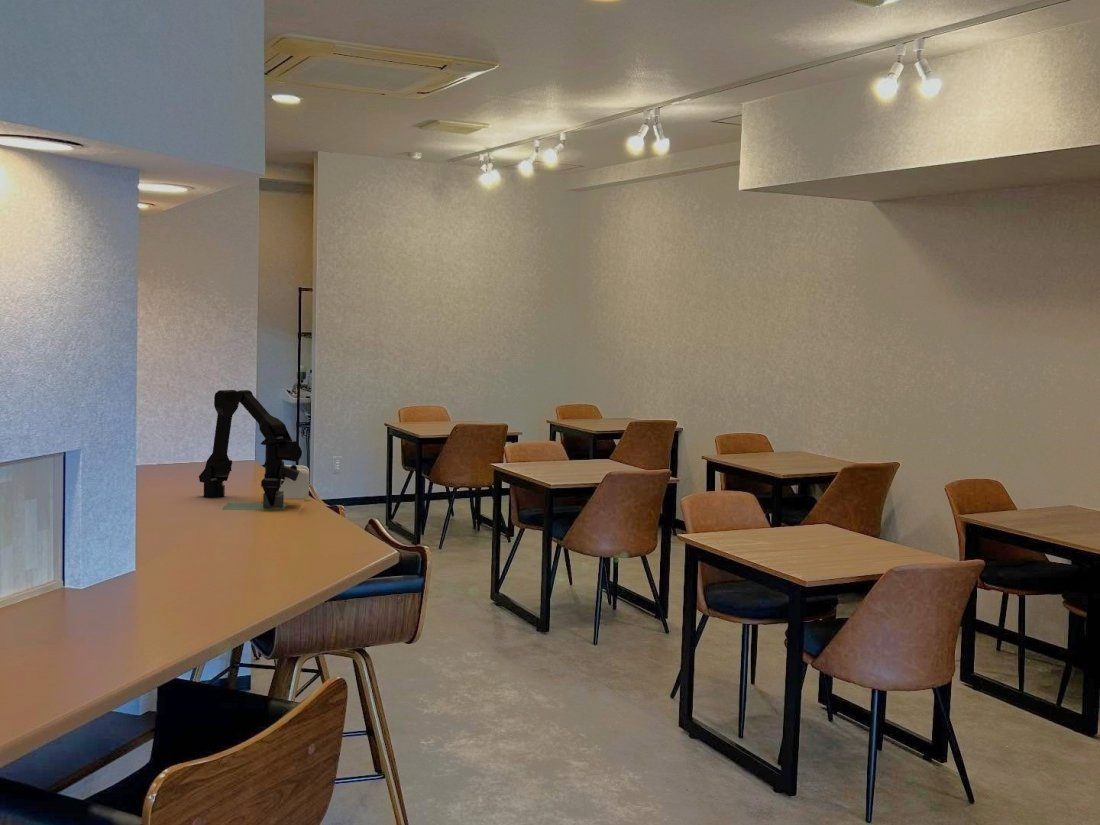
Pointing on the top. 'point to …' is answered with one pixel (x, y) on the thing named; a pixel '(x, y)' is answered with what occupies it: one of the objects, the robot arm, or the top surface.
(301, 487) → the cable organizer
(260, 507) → the header board
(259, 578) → the top surface
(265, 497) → the plug
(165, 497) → the top surface
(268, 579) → the top surface
